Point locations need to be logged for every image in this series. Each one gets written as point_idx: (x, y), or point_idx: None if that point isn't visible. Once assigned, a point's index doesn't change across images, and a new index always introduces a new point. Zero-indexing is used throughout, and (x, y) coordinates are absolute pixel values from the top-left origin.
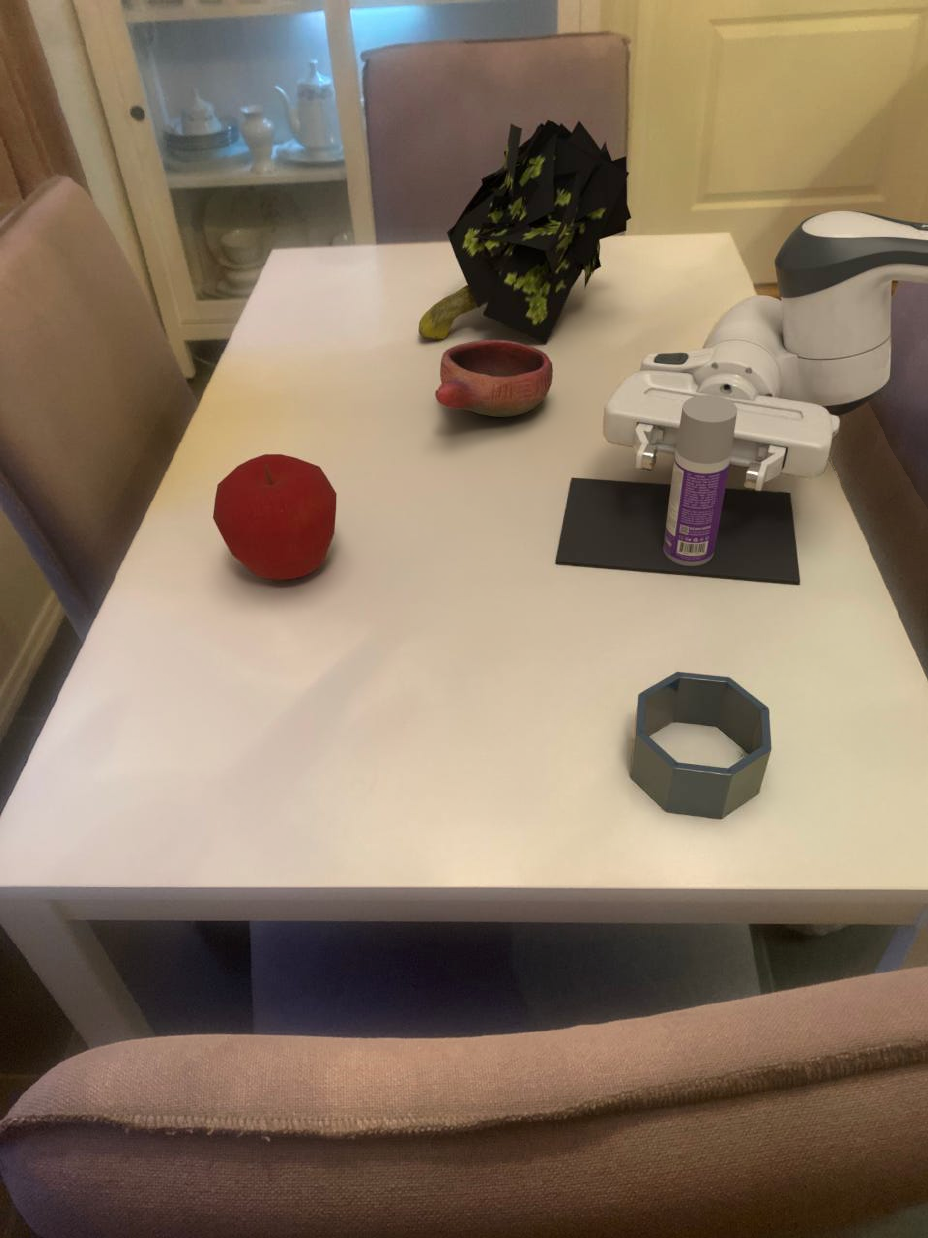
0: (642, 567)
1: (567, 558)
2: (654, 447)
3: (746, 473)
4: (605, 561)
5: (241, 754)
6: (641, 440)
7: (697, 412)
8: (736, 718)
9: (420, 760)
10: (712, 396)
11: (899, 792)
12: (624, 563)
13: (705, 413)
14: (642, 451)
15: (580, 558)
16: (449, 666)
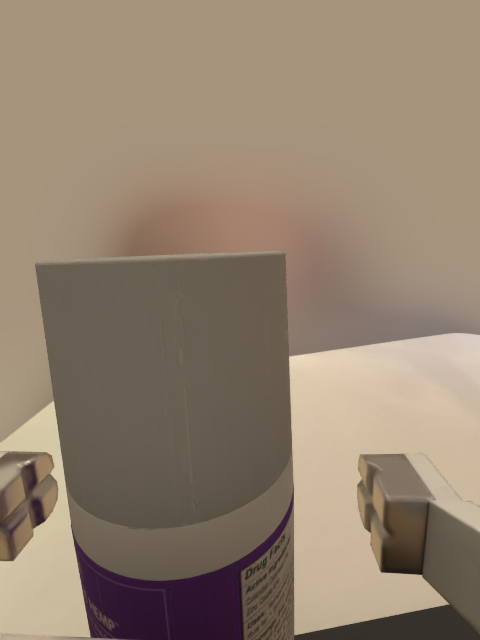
0: (311, 636)
1: None
2: (389, 486)
3: (47, 454)
4: (396, 628)
5: (455, 362)
6: (478, 508)
7: (217, 253)
8: None
9: (360, 376)
10: (141, 259)
11: (43, 418)
12: (355, 636)
13: (188, 254)
14: (409, 456)
15: (452, 621)
16: (415, 419)
